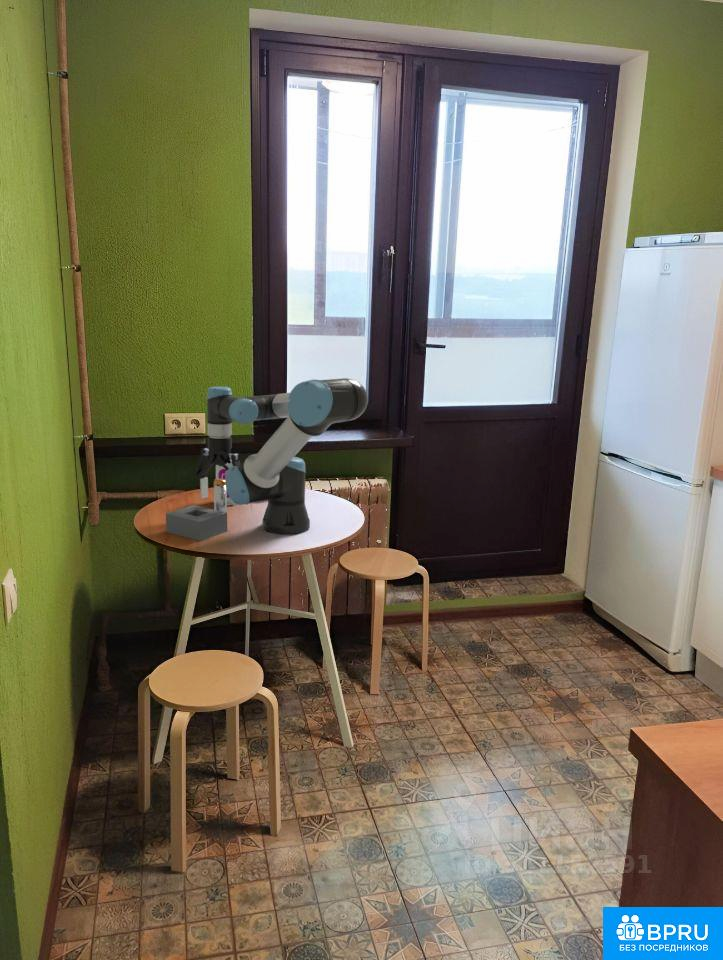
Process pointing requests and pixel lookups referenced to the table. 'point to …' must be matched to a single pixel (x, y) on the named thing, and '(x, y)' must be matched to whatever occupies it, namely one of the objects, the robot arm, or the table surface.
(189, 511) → the block
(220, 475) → the supplement can
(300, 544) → the table surface
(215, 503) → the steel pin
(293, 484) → the robot arm
